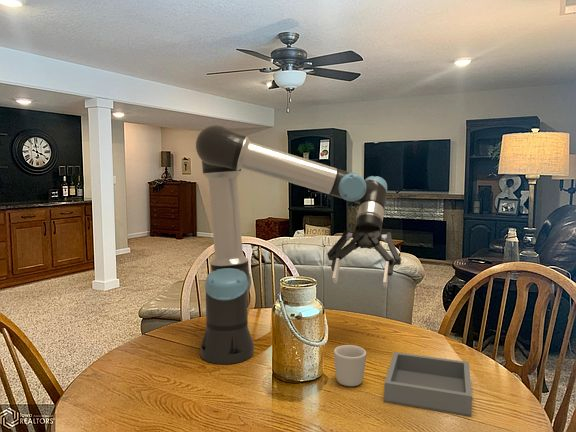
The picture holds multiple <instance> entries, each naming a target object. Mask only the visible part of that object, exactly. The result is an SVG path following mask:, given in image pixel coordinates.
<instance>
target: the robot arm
mask: <svg viewBox="0 0 576 432" xmlns="http://www.w3.org/2000/svg"><path fill="white" fill-rule="evenodd" d="M195 150H196V153H197V155H198V158H199V159H200V160H201V167H202V174H203V176H204V177H205V178H206V179H207V180H208V187H209V200H210V201H209V202H210V214H211V224H212V225H211V227H212V236H213V249H214V257H213V259H211V261H210V273H208V274H207V275H206V278H205V284H204V289H205V314H206V315H205V316H206V317H205V322H206V325H205V327H206V329H205V331H204V334H203V337H202V342H201V345H200V357H201V359H202V360H204V361H206V362H208V363H212V364H218V365H231V364H238V363H241V362H244V361H247V360H249V359H250V358H253V356H254V354H255V344H254V341H253V338H252V334H251V332H250V330H249V325H248V324H249V323H248V322H249V321H248V313H249V312H248V310H249V309H248V308H249V307H248V300H249V299H248V298H249V293H250V290H251V286H252V277H251V274H250V269H249V267H250V266H249V258H247V257H246V256H245V255H244V254H243V253H244V252H243V241H242V228H241V214H240V201H239V191H238V177H239V175H240V174H241V173H242V169H243V170H247V171H250V172H254V173H258V174H259V175H264V176H267V177H270V178H273V179H277V180H281V181H284V182H286V183H291V184H293V185H296V186H300V187H304V188H307V189H309V190H314V191H317V192H319V193H324V194H327V195H329V196H332V197H336V198H339V199H343V200H344V201H348V202H352V203H356V204H359V206H358V213H357V219H356V221H355V222H356V223H355V228H354V231H353V232H348V230H343V232H342V235H341V236H340V238H339V239H338V240H337V242H336V243H335V244H334V245H333V246H332V247H331V248H330V249H329V251H328V252H327V253H326V255H327V258H328V260H329V261H332V262H331V266H330V268H331V271H332V273H333V274H332V281H333V283H334V284H337V283H338V278H339V273H340V268H341V261H342V260H343V259H344V258H345V257H347V256H348V255H349V254H351V253H352V252H353V251H355V250H357V249H359V248H360V249H368V250H369V249H373V248H374V250H376V252H377V253H379V255H380V256H381V257H382V258H383V259H384V260H385V264H384V273H383V280H382V281H383V282H382V283H383V288H388V281H389V276H390V277H391V276H393V275H394V273H393V272H394V267H395V266H396V265H397V266H401V264H402V259H401V257H400V254H399V252H398V250H397V247H396V245H395V244H394V242H393V240H392V233H391V232H386V234H382V229H383V220H384V215H385V206H386V202H387V197H388V184H387V181H386V180H385V179H384V178H383V177H381V176H376V175H375V176H374V175H371V176H368V177H367V178H365V179H364V177H362V175H360V174H358V173H354V172H349V171H346V170H344V169H340V168H336V167H332V166H329V165H327V164H324V163H320V162H317V161H314V160H311V159H308V158H304V157H300V156H298V155H294V154H291V153H289V152H285V151H281V150H278V149H276V148H271V147H269V146H265V145H263V144H259V143H256V142H253V141H250V138H249V137H248V136H245V135H242V134H239V133H237V132H235V131H233V130H230V129H229V128H227V127H225V126H223V125H218V124H217V125H216V124H215V125H213V124H212V125H210V126H207V127H205V128H203V129H202V130H201V131H200V133H199V134H198V135H197V138H196V141H195ZM350 239H351V240H350ZM382 240H383V241H384V242H385V243H387V247H388V249H389V251H390V253H391V255H392V256H391V255H390V253H388V251H387V250H386V249H385V248H384V246H383V245H382V244H381V243H380V242H381V241H382ZM349 241H350V242H349ZM348 242H349V243H348Z"/></svg>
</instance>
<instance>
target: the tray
mask: <svg viewBox="0 0 576 432" xmlns="http://www.w3.org/2000/svg"><path fill="white" fill-rule="evenodd" d="M471 382H472V381H471V369H470V362H469V361H463V360H458V359H450V358H449V359H448V358H442V357H436V356H435V357H433V356H428V355H421V354H420V355H419V354H413V353H412V354H411V353H405V352H404V353H403V352H399V351H398V352H397V351H393V354H392V357H391V360H390V363H389V367H388V371H387V373H386V377H385V379H384V382H383V383H384V384H383V386H384V387H383V390H384V391H383V402H385V403H389V404H396V405H400V406H401V405H402V406H407V407H412V408H413V407H414V408H420V409H424V410H431V411H437V412H443V413H447V414H449V413H450V414H456V415H460V416H466V417H472V407H473V393H472V383H471Z"/></svg>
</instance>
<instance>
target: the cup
mask: <svg viewBox="0 0 576 432" xmlns="http://www.w3.org/2000/svg"><path fill="white" fill-rule="evenodd" d="M333 357H334V371H335V378H336V381H337V382H338V383H339V384H340V385H342V386H345V387H346V386H347V387H356V386H359V385H360V384H362V382H363V381H364V377H365V369H366V361H367V360H366V359H367V351H366V350H365V348H363V347H361V346H358V345H353V344H344V345H339V346H337V347H335V348H334V350H333Z"/></svg>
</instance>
